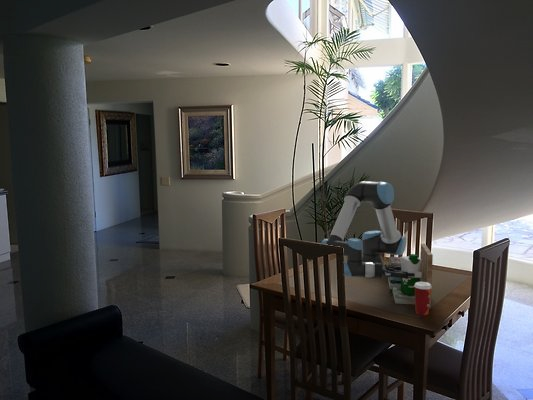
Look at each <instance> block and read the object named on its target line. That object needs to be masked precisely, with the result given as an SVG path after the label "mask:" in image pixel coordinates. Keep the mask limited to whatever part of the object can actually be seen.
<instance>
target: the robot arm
mask: <svg viewBox="0 0 533 400" xmlns="http://www.w3.org/2000/svg"><path fill="white" fill-rule="evenodd" d="M394 200H395V190H394V187H393V185H392V184H391V183H389V182H386V181H366V180H364V181H359V182H356V183H355V184H353V186H351V187H350V188H349V189H348V190H347V192H346V194H345V196H344V197H343V201H344V203H343V205H342V207H341V209H340V212H339V214H338V216H337V218H336V221H335V223H334V225H333V228H332V230H331V233H330V234H329V236H328V238H323V240H321V243H320V245H321V244H328V245H333V246H340V247H343V248H344V256H343V257H346V261H343V263H344V271H345V275H344V276H345V277H353V278H354V277H355V278H367V279H369V278H373V277H374V278H377V279H381V278H383V277H382V276H383V275H385V277H387V278H388V277H397V278H406V279H408V277H418V278H421V277H422V272H412V271H408V272H404V271H401V265H389V264H384V261H383V257H382V254H385V255H386V254H387V255H392V256H402V255H403V254H404V253H405V251H406V247H407V238H406V236H404V235H402V234H401V231H400V230H398V229H397V225H396V221H395V218H394V213H393V210H392V206H391V205H392V203H393V202H394ZM362 203H370V205H371V208H372V209H374V210H375V213H376V216H377V220H378V223H379V226H380V230H369V231H365V232H363V233H362V240H361V238H357V237H353V238H348V239H346V241H345V237H346V235H347V233H348V230H349V227H350V225H351V223H352V221H353V218H354V215H355V213H356V211H357V208H359V207H360V206H361V204H362Z"/></svg>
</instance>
